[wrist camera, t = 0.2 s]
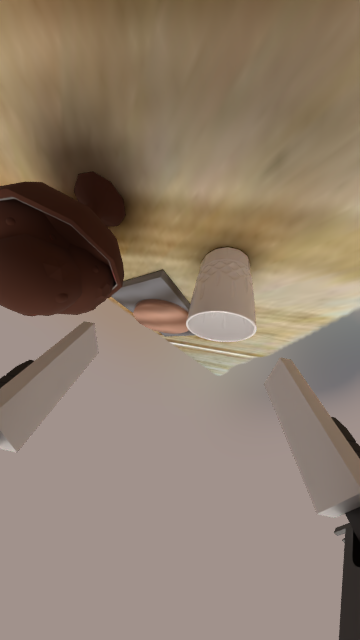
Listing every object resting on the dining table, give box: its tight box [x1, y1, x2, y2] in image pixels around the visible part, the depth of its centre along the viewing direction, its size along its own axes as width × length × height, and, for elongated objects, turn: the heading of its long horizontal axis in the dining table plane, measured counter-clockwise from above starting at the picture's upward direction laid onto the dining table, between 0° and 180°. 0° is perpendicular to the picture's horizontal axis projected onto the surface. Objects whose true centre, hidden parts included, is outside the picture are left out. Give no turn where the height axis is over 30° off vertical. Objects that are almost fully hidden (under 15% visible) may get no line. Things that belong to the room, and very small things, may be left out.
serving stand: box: [111, 270, 195, 336], centre depth 37 cm, size 22×14×3 cm, turn 29°
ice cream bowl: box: [0, 172, 126, 316], centre depth 15 cm, size 11×11×15 cm
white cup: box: [186, 247, 257, 342], centre depth 21 cm, size 8×8×10 cm
